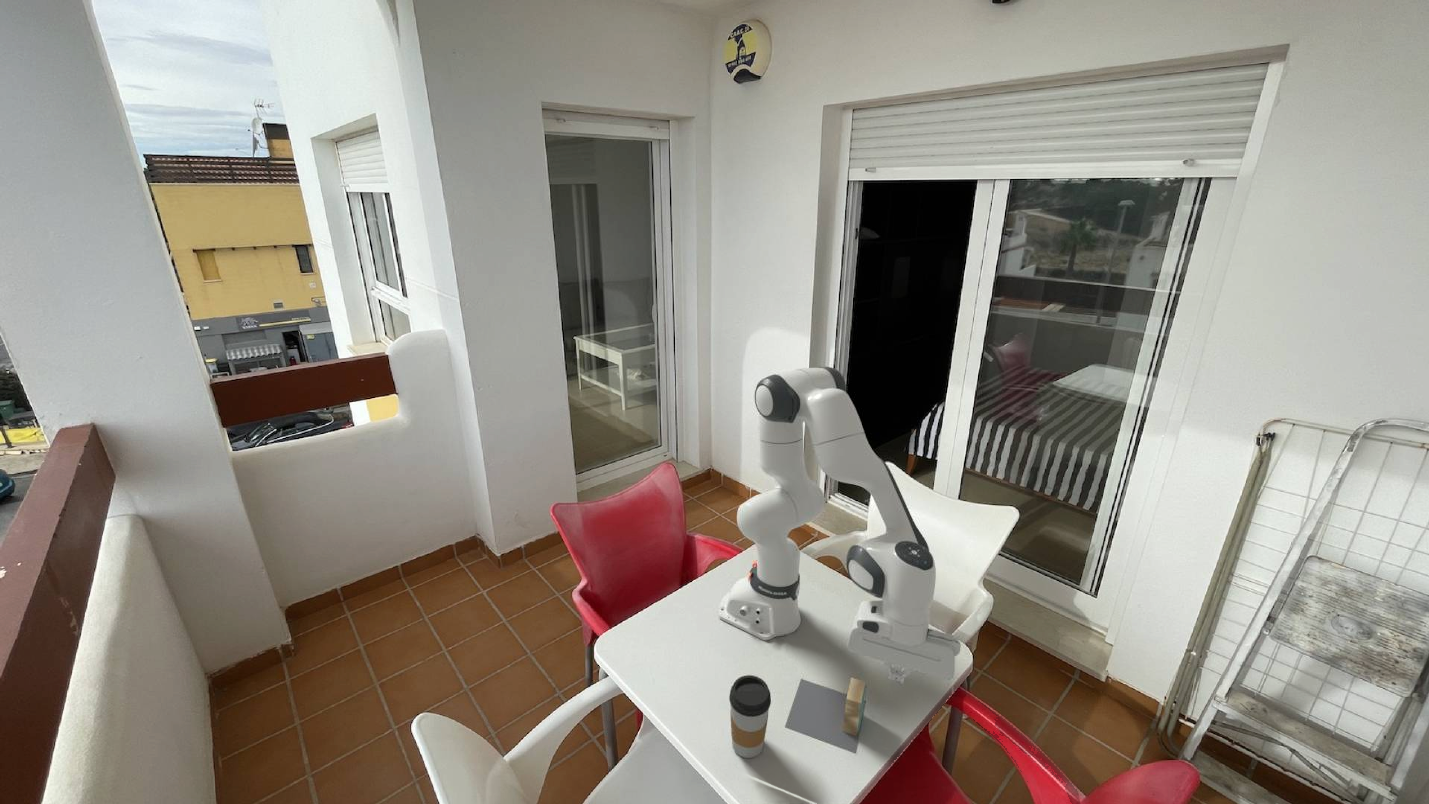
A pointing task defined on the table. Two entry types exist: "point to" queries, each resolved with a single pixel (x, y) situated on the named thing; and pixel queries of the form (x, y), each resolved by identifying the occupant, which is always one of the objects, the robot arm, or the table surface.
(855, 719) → the plaque
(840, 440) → the robot arm
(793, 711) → the mat
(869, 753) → the table surface
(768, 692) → the coffee cup
